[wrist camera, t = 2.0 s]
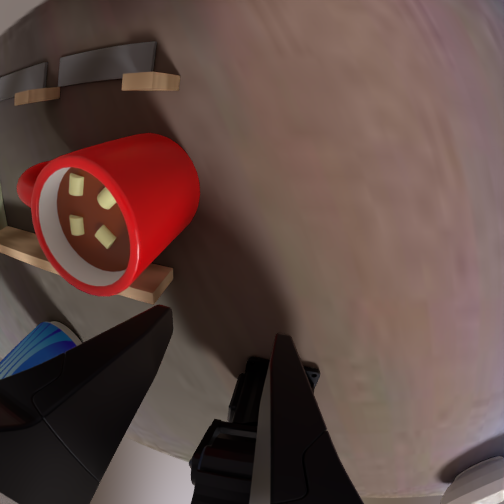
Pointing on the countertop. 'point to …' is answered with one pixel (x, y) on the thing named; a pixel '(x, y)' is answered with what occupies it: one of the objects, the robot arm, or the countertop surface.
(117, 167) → the mug
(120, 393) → the robot arm
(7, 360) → the beer can
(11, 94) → the wooden box
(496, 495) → the bowl
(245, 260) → the countertop surface
